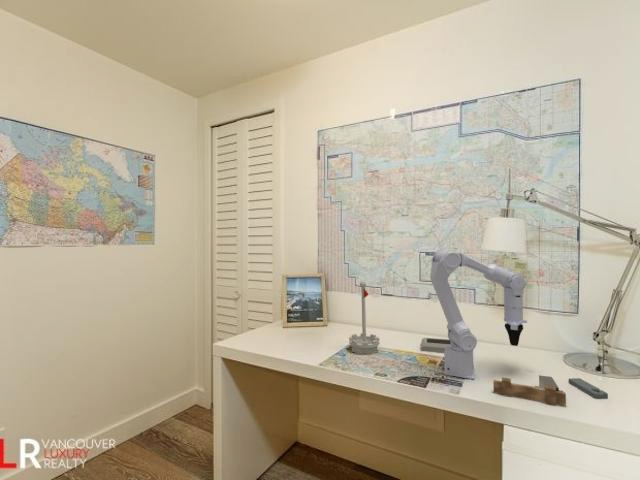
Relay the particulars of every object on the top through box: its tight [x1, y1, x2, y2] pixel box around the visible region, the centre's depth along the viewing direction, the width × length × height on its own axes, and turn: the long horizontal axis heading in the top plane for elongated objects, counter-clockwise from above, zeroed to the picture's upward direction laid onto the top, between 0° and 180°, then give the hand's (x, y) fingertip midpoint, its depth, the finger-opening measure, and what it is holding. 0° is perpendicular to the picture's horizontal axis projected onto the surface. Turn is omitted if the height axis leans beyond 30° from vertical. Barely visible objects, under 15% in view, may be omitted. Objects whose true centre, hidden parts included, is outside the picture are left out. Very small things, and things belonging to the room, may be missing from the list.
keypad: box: [420, 337, 451, 354], centre depth 139 cm, size 10×4×15 cm
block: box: [538, 375, 560, 391], centre depth 98 cm, size 3×8×4 cm, turn 156°
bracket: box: [568, 377, 609, 400], centre depth 100 cm, size 4×10×2 cm, turn 0°
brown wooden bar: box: [492, 377, 567, 407], centre depth 97 cm, size 18×5×4 cm, turn 60°
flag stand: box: [348, 280, 380, 355], centre depth 140 cm, size 13×13×30 cm
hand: (514, 345), depth 115 cm, fingers closed
